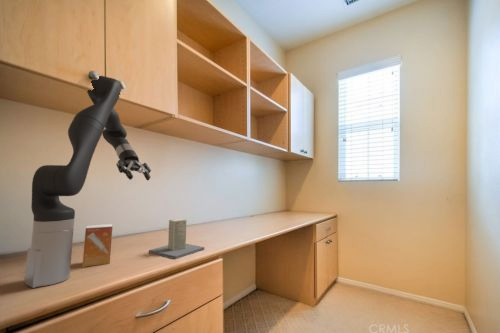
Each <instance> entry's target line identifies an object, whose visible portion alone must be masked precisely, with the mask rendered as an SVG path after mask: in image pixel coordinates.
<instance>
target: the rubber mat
mask: <svg viewBox="0 0 500 333" xmlns="http://www.w3.org/2000/svg"><path fill="white" fill-rule="evenodd" d="M204 250H205V246H199V245H195V244H188V243H186V248H183V249H178V250H173V251H172V250H170V249H168V244H166V245H164V246H159V247H156V248H152V249H149V250H148V253H149V254H152V255H153V254H154V255H158V256H162V257H165V258H170V259H174V260H176V259H180V258H183V257H187V256H189V255H192V254H195V253H198V252H202V251H204Z"/></svg>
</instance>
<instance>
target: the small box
mask: <svg viewBox="0 0 500 333" xmlns="http://www.w3.org/2000/svg"><path fill="white" fill-rule="evenodd" d="M112 240H113V223H106V224H105V223H104V224H94V225H93V224H92V225H86V226H85V232H84V246H83V253H82V254H83V255H82V268H86V267H91V266H101V265H107V264H108V265H109V264H110V263H111V255H112V254H111V253H112Z"/></svg>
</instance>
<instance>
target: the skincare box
mask: <svg viewBox="0 0 500 333" xmlns="http://www.w3.org/2000/svg"><path fill="white" fill-rule="evenodd" d="M167 242H168V243H167V245H168V249H170V250H172V251H173V250H178V249H183V248H186V244H187V219H185V218H177V219H176V218H175V219H169V220H168V240H167Z"/></svg>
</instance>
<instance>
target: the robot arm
mask: <svg viewBox="0 0 500 333" xmlns="http://www.w3.org/2000/svg"><path fill="white" fill-rule="evenodd" d="M91 83H92V86H93V88H94V89H93V90H92V91H91V90H88V91H87V90H86V92H87V95H88V96H89V98H90V100H91V102H92V105H90V106H88V107H85V108H84V109H82V110H80V111H79V112H77V113H76V114H75V116H74V117H73V120H72V121H71V123H70V125H69V126H68V130H67V135H68V139H69V141H70V144H71V146H72V151H73V152H72V156H71V158H70V160H69V163H68V164H66V165H65V164H64V165H63V164H60V165H57V164H56V165H55V164H45V165H42V166H39V167H38V168H37V169H36V170H35V172H34V174H33V177H32V182H31V205H30V206H31V211H32V214H33V220H32V221H33V222H32V233H31V243H30V247H28V248H27V254H26V261H25V262H26V264H25V273H24V274H25V275H24V282H23V283H24V284H25V285H27V286H29V287H30V288H31V289H34V288H39V287H45V286H51V285H55V284H58V283H62V282H64V281H66V280H68V279H69V278H70V276H71V269H72V266H71V265H72V253H73V239H74V227H75V216H76V215H75V214H76V211H75V209H74V208H73V207H70V206H68V205H65V204H64V203H62V202H61V200H60V197H72V196H76V195H78V194H79V193H80V192H81V190H83V187H84V185H85V182H86V179H87V176H88V173H89V172H88V171H89V168H90V166H91V161H92V158H93V155H94V153H95V150H96V149H97V146H98V144H99V141H100V140H101V137H103V139H104V140H105V141H106V143H108V144H109V145H111V146H112V147H113V149H114V151H115V153H116V156H117V158H118V159H119V160H118V161H117V162H116V164H115V165H116V167H117V169H118V172H119V173H120V174H125V177H126V178H127V179H129V180H130V181H131V180H132V179H133V178H134V175H133V173H132V172H136V173H139V174H142V175H143V176H144V178H145V179H146V181H149V180H150V179H151V175H150V173H151V172H152V169H151V168H150V166H149V165H148V164H147V163H146V162H144V163H141V162H140V160H139V159H140V158H139V157H138V154H137V153H136V152H135V149H134V148H133V147H132V146H131V144H130V142H129V141H128V139H127V136H128V132H127V130H126V129H125V127H124V126H123V125H122V124H121V120H120V116H119V114H118V112H117V110H116V109H115V108H114V107H115V105H116V104H117V102H118V101H119V99H120V96H121V93H120V92H122V86H121V87H120V84H121V82H120V81H119V80H117V79H116V78H113V77H108V76H103V75H101V76H99V79H98V80H92V81H91ZM119 95H120V96H119Z"/></svg>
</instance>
